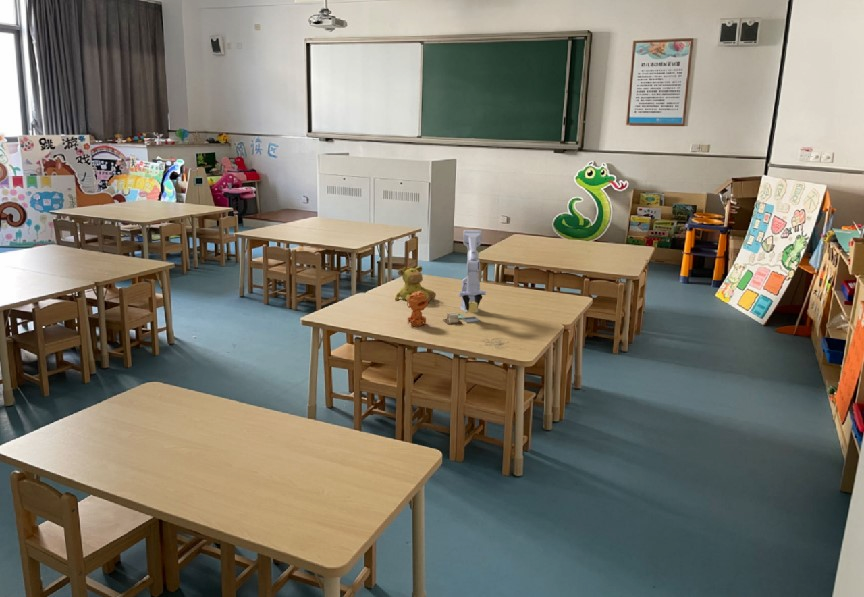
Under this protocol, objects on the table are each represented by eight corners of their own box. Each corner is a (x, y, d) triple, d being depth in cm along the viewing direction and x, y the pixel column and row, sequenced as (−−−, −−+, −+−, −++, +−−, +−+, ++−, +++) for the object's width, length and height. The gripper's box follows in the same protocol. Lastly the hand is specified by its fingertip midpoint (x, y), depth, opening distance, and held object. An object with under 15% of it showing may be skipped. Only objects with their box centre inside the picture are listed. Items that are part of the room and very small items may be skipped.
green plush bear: (421, 306, 372) (422, 273, 367) (386, 300, 384) (386, 267, 379) (440, 298, 389) (440, 266, 384) (405, 292, 401) (406, 261, 396)
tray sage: (447, 316, 355) (447, 314, 355) (460, 315, 358) (460, 313, 357) (452, 320, 348) (452, 318, 348) (465, 319, 351) (465, 317, 351)
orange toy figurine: (429, 327, 335) (430, 293, 330) (408, 328, 333) (408, 293, 329) (426, 321, 346) (427, 287, 341) (405, 321, 344) (405, 288, 339)
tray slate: (461, 319, 350) (461, 317, 350) (474, 318, 353) (475, 316, 352) (467, 323, 343) (467, 321, 343) (480, 322, 346) (480, 320, 346)
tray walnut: (442, 321, 347) (443, 319, 346) (456, 319, 349) (456, 318, 349) (448, 325, 340) (448, 323, 340) (461, 324, 342) (461, 322, 342)
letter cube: (465, 310, 348) (466, 301, 347) (473, 309, 349) (474, 301, 348) (469, 312, 344) (469, 304, 343) (477, 312, 345) (477, 303, 344)
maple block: (446, 321, 346) (446, 312, 345) (454, 320, 347) (455, 312, 346) (449, 323, 342) (450, 315, 341) (458, 322, 343) (458, 314, 342)
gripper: (462, 286, 337) (461, 312, 340) (488, 284, 342) (487, 310, 345) (457, 283, 343) (456, 308, 347) (483, 281, 348) (482, 306, 351)
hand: (471, 309), depth 346 cm, fingers closed on letter cube, 4 cm apart
